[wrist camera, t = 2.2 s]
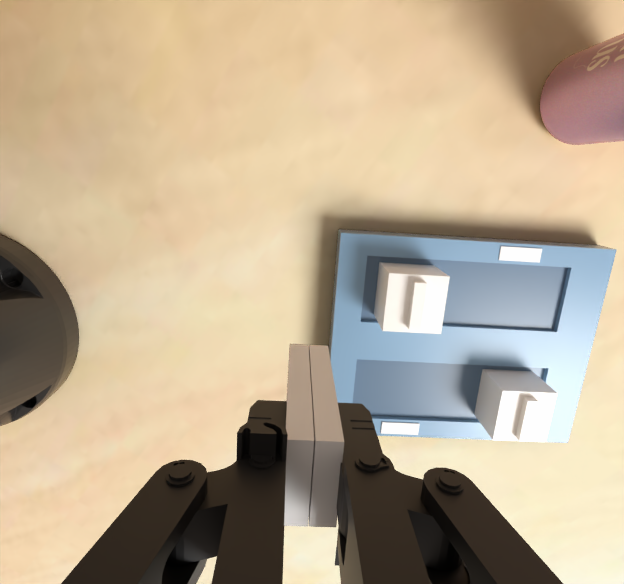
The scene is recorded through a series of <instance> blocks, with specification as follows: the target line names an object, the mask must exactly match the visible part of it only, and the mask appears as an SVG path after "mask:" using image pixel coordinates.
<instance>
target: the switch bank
mask: <svg viewBox="0 0 624 584" xmlns="http://www.w3.org/2000/svg"><path fill="white" fill-rule="evenodd" d="M615 253H616V249H612V248H608V247H604V246H600V245H588V244H571V243H555V242H539V241H523V240H506V239H490V238H474V237H458V236H441V235H425V234H409V233H393V232H376V231H360V230H344V229H338V241H337V254H336V266H335V278H334V291H333V303H332V315H331V328H330V340H329V355H330V361H331V367H332V373H333V378H334V384H335V390H336V396H337V402H338V403H359V404H363V405H364V406H365V407H366V408H367V409H368V410H369V411H370V413H371V416H372V420H373V423H374V427H375V430H376V433H377V435H380V436H406V437H432V438H457V439H483V440H492V438H491V437H490V436H489V434H488V433H487V432H486V430H485V429H484V427H483V426H482V425H481V423H480V422H479V420H478V419H477V418H476V416H475V415H474V413H475V407H476V402H477V396H478V391H479V386H480V380H481V375H482V369H492V370H513V371H532V372H534V373H535V374H536V375H537V376H538V377H539V378H541V379H542V380H543V381H544V382H545V383H546V384H548V385H549V386H550V387H551V388H552V389H553V390H555V391H556V392H557V393H558V394H557V398H556V402H555V406H554V411H553V415H552V419H551V423H550V427H549V432H548V436H547V440H546V442H561V443H568V440H569V436H570V432H571V428H572V424H573V420H574V416H575V412H576V408H577V404H578V400H579V396H580V392H581V389H582V385H583V381H584V377H585V373H586V369H587V365H588V361H589V357H590V353H591V349H592V345H593V341H594V337H595V333H596V329H597V325H598V321H599V317H600V313H601V309H602V305H603V301H604V297H605V293H606V289H607V285H608V281H609V277H610V273H611V269H612V265H613V261H614V257H615ZM379 262H385V263H402V264H419V265H434V266H435V267H437V268H438V269H440V270H441V271H443V272H444V273H445V274H447V275H448V276H450V279H449V285H448V292H447V299H446V305H445V312H444V318H443V325H442V331H441V334H430V333H410V332H390V331H382V329H381V327H380V325H379V324H378V322H377V320H376V318H375V316H374V308H375V299H376V290H377V280H378V271H379Z"/></svg>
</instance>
